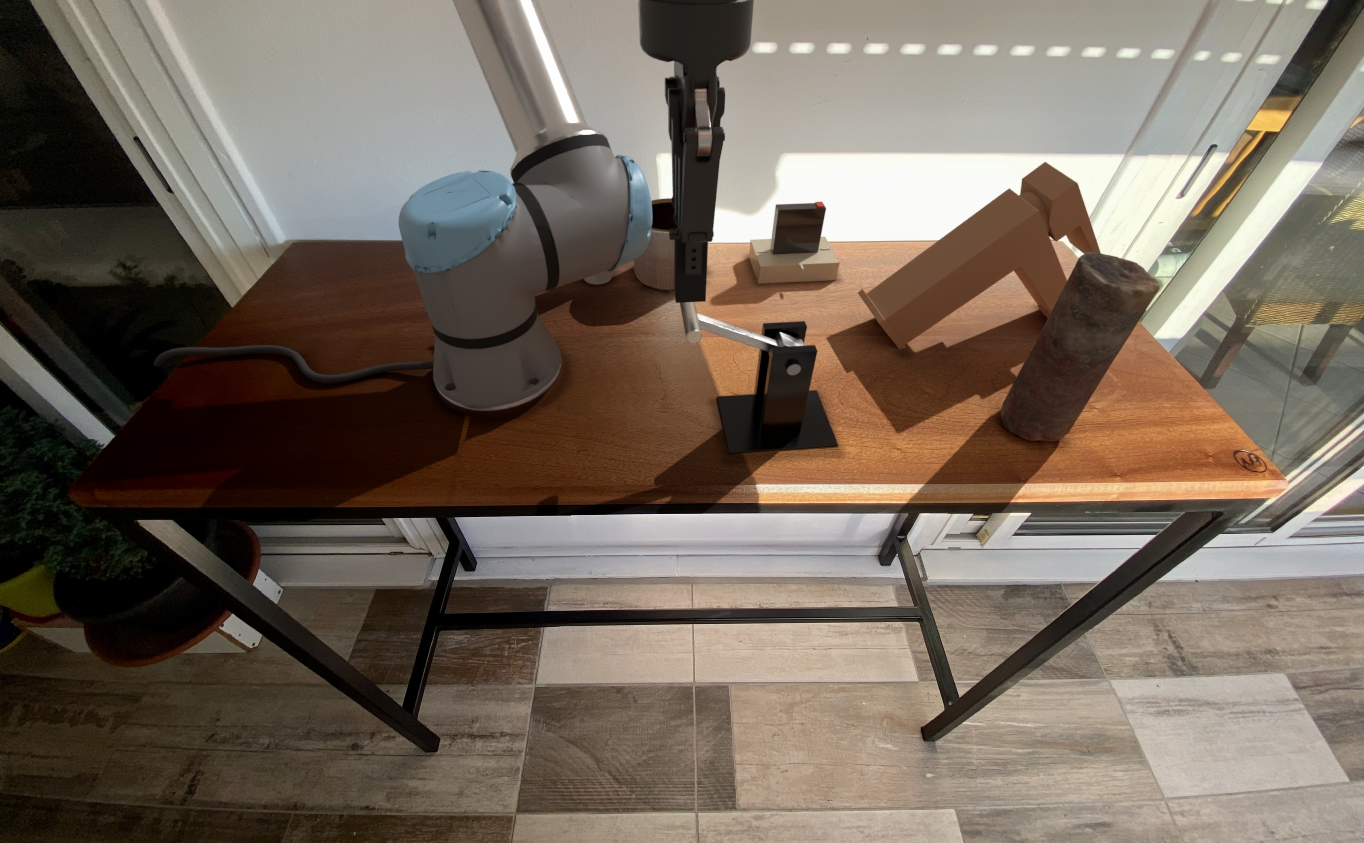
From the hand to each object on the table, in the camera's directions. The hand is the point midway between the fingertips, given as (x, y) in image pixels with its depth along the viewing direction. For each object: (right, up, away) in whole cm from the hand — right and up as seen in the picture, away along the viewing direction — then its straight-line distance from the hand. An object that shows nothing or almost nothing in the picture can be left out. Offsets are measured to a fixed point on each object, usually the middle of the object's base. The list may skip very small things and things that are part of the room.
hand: (689, 297), depth 55 cm
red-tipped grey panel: (+16, +15, +36) cm, 42 cm away
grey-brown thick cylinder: (+40, -12, +15) cm, 44 cm away
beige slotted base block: (+16, +13, +38) cm, 43 cm away
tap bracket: (+10, -12, +14) cm, 21 cm away
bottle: (-14, +10, +36) cm, 40 cm away
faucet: (+38, +1, +27) cm, 47 cm away
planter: (-3, +11, +37) cm, 39 cm away
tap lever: (+5, -4, +5) cm, 8 cm away
